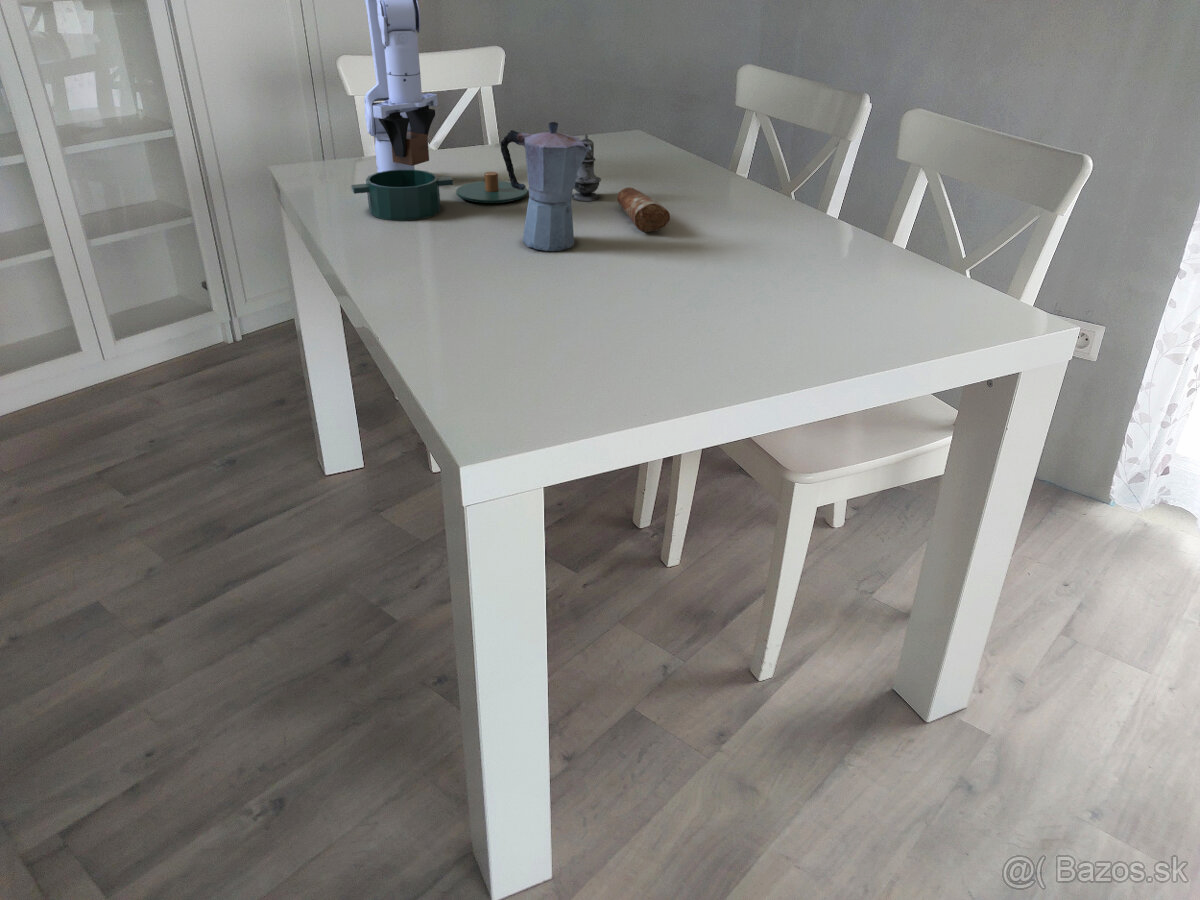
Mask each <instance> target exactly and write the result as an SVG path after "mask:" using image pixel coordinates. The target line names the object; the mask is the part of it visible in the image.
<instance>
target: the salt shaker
mask: <svg viewBox="0 0 1200 900" xmlns="http://www.w3.org/2000/svg"><path fill="white" fill-rule="evenodd" d="M580 141H583V142H585V143H587V144H588V145H590V147H591V149H592V150H590V151H588V153H587V154H586V156H585V158H584V160H583V162H582V164H581V167H580V169H579V170H578V172H577V176H576V182H575V187H574V189H573V190H575V191H576V193H574V194H572V198H571V199H573V200H575V201H579V202H593V201H597V200H599V199H600V195H598V194H597V193H595V192H596V191H597V190H598V188H599V187H600V182H601V181H602V179H601V177H600V176H597V175H596V173H595V161H596V159H597V158H595V154H594V151H595V149H594V148H595V143H594V141H593V140H592V139H589V135H588V134H586V133H585V135H584V138H583V139H581V140H580Z"/></svg>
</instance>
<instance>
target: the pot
mask: <svg viewBox="0 0 1200 900" xmlns="http://www.w3.org/2000/svg"><path fill="white" fill-rule="evenodd" d="M453 185H454V179H453V178H452V177H451V176H440V177H439V176H438V175H437V174H436V173H434V172H431V171H428V170H421V169H415V170H404V169H402V170H389V171H383V172H378V173H377V172H376V173H373V174H370V175H368V177H366V179H365V183H357V184H351V191H352V192H353V193H354V195H355V194H366V193H367V194H366V195H367V203H368V204H367V205H368V210H369V213H370V215H372V216H373V217H375V218H377V219H381V220H387V221H399V222H400V221H401V222H402V221H416V220H423V219H426V218H430V217H433V216H435V215H437V214H439V213H440V211H441V197H440V195H441V193H440V187H445V186H453Z"/></svg>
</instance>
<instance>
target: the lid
mask: <svg viewBox="0 0 1200 900" xmlns="http://www.w3.org/2000/svg"><path fill="white" fill-rule="evenodd" d="M455 192H456V193H455V194H456V196H457V198H460V199H462V200H465V201H470V202H474V203H480V204H504V203H508V202H512V201H518V200H521V199H523V198H525V197H526V196H527V195H528V188H527V186H526V187H525V189H524V190H519V189H517V188H513V187H512V185H511V181H504V180H502V181H501V180H499V173H498V172H497V171H486V172H484V181H483V180H482V181H475V182H470V183H466V184H463V185H460V186H459V187H457V189H456V190H455Z"/></svg>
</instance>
